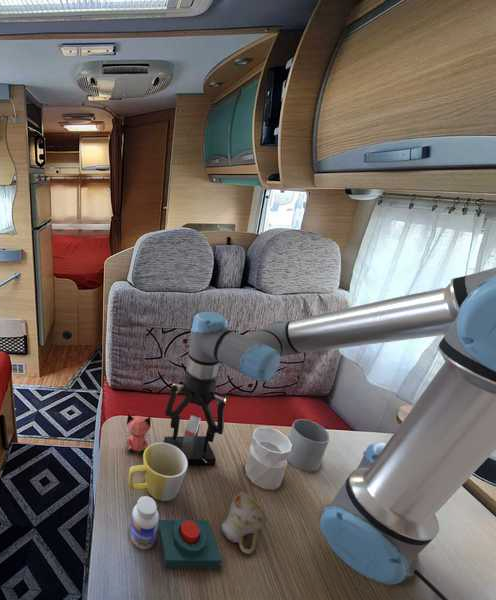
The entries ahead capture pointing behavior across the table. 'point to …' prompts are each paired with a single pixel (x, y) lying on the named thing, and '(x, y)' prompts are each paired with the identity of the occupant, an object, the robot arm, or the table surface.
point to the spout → (190, 436)
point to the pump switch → (188, 545)
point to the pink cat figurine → (137, 433)
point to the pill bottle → (144, 522)
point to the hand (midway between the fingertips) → (189, 442)
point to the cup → (307, 445)
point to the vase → (267, 457)
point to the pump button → (189, 532)
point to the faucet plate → (195, 451)
